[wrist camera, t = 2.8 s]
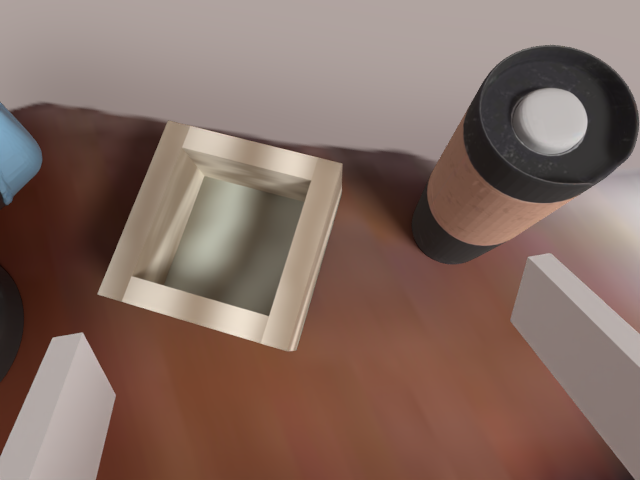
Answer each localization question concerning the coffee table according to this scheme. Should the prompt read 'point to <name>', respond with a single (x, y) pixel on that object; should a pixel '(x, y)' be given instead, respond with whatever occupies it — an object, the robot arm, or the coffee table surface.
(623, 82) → the travel mug
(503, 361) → the coffee table surface
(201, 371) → the coffee table surface
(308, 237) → the well
